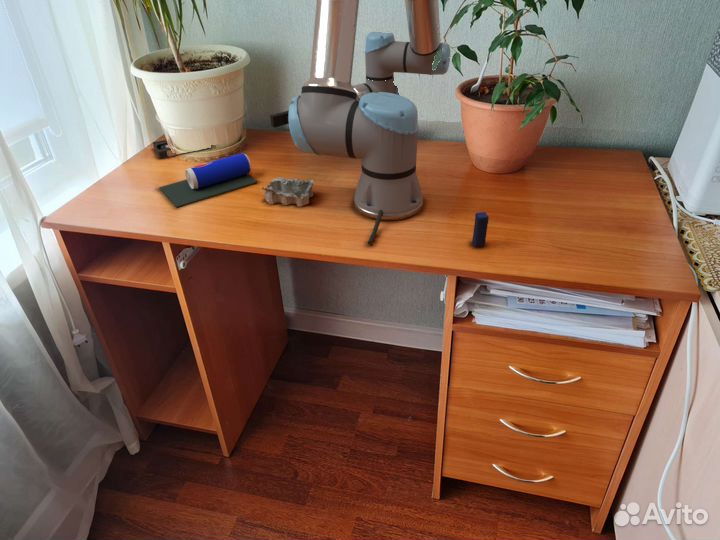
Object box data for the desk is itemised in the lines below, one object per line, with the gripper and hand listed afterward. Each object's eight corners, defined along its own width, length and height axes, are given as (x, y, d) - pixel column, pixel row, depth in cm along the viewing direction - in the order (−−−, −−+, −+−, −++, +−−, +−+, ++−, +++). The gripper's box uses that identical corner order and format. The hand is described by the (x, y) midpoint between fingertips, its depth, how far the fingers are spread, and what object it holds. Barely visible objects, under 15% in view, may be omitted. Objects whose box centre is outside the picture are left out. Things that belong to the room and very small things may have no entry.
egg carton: (261, 204, 118) (259, 187, 116) (274, 189, 124) (272, 173, 122) (306, 208, 116) (304, 191, 113) (317, 193, 122) (315, 176, 119)
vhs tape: (159, 159, 140) (157, 152, 139) (154, 149, 146) (152, 142, 145) (212, 148, 145) (210, 141, 144) (205, 139, 151) (203, 132, 150)
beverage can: (245, 149, 127) (186, 165, 120) (254, 168, 127) (195, 185, 120) (241, 157, 132) (183, 173, 125) (249, 175, 132) (192, 193, 125)
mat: (236, 166, 135) (235, 165, 134) (257, 183, 127) (256, 181, 126) (159, 188, 125) (159, 187, 125) (176, 207, 117) (176, 206, 117)
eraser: (482, 241, 103) (485, 210, 99) (485, 247, 101) (489, 216, 97) (471, 242, 103) (474, 211, 99) (474, 248, 101) (478, 217, 97)
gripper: (365, 122, 137) (286, 143, 126) (337, 109, 145) (261, 128, 134) (364, 93, 132) (283, 113, 121) (336, 81, 141) (257, 99, 130)
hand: (272, 121), depth 128 cm, fingers closed
